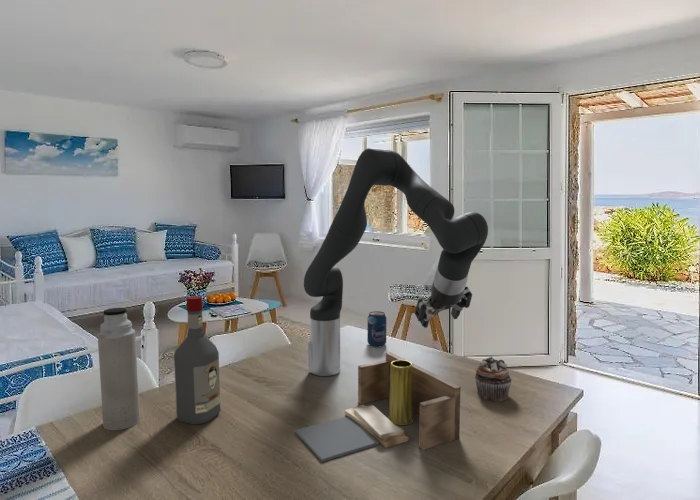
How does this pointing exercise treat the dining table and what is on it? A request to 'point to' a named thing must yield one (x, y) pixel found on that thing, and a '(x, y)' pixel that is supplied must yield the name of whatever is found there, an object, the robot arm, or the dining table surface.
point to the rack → (428, 404)
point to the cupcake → (493, 380)
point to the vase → (401, 393)
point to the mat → (336, 438)
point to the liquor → (196, 371)
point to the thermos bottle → (118, 371)
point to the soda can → (376, 329)
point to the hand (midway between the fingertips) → (439, 320)
